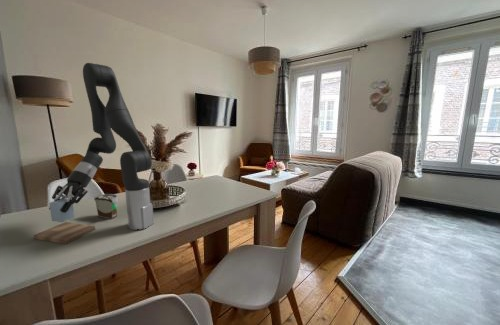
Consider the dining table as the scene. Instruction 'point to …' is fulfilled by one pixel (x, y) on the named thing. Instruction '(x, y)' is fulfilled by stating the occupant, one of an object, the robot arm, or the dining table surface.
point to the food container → (106, 205)
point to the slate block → (56, 212)
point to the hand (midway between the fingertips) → (57, 210)
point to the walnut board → (64, 232)
